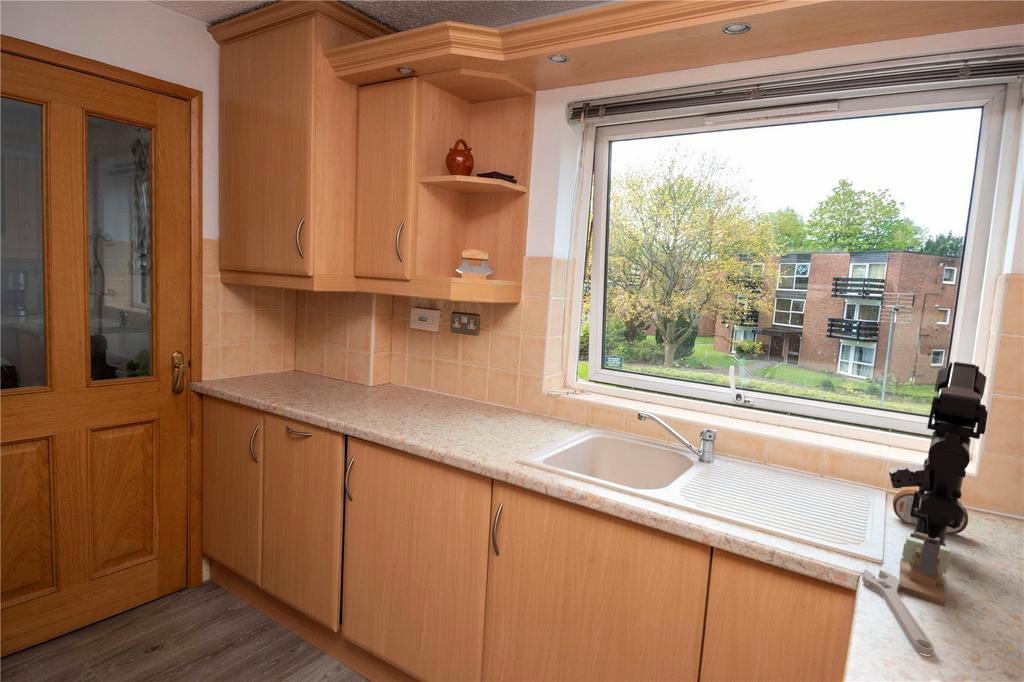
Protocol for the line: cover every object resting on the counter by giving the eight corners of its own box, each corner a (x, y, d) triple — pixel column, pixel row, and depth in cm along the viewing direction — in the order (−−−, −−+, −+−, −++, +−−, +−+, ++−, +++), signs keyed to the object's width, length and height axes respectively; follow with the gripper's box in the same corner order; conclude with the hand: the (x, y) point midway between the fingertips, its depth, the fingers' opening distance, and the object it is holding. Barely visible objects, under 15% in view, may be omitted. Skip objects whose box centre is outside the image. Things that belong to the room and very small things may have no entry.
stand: (900, 563, 121) (907, 527, 120) (941, 575, 117) (948, 538, 116) (899, 591, 110) (906, 552, 108) (944, 606, 106) (952, 565, 105)
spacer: (901, 556, 117) (905, 535, 116) (946, 570, 113) (950, 548, 112) (901, 560, 115) (905, 538, 115) (946, 574, 111) (951, 552, 111)
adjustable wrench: (936, 660, 90) (938, 650, 90) (889, 648, 93) (891, 638, 92) (894, 581, 114) (895, 573, 113) (857, 572, 116) (858, 564, 116)
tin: (964, 535, 138) (971, 502, 136) (965, 540, 135) (972, 506, 134) (890, 516, 146) (895, 484, 145) (889, 520, 143) (895, 488, 142)
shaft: (917, 549, 117) (923, 522, 116) (932, 554, 115) (938, 526, 114) (918, 571, 108) (924, 541, 107) (934, 576, 106) (940, 546, 105)
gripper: (896, 438, 120) (883, 508, 122) (894, 460, 104) (879, 540, 107) (963, 452, 114) (948, 526, 116) (972, 477, 98) (954, 562, 101)
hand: (931, 537), depth 110 cm, fingers closed
